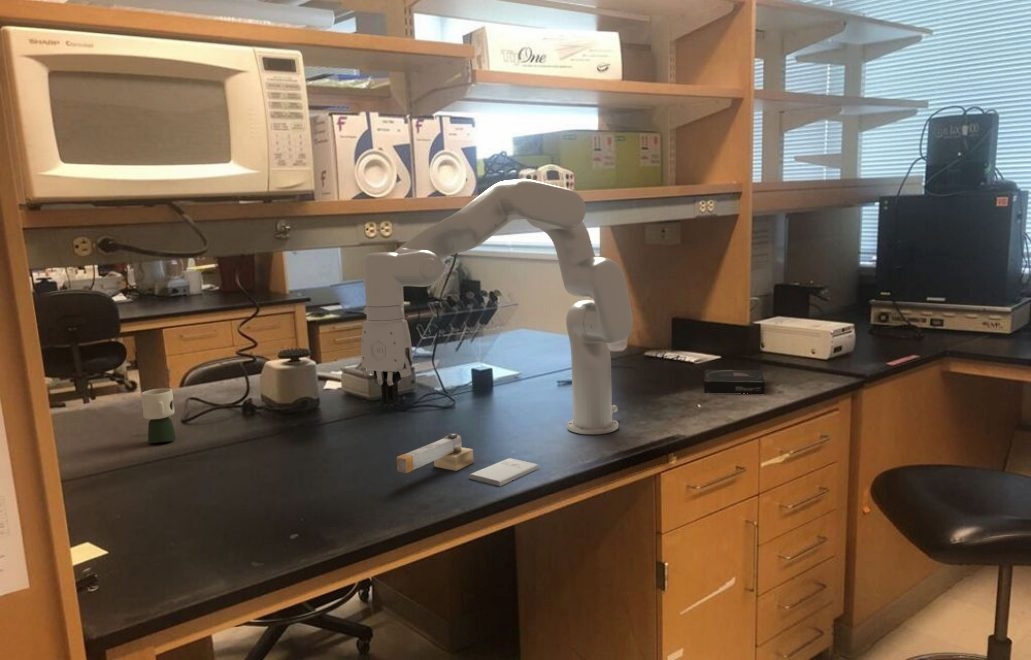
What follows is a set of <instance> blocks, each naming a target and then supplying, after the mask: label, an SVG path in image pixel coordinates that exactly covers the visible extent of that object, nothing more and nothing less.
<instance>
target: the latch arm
mask: <svg viewBox="0 0 1031 660" xmlns="http://www.w3.org/2000/svg"><path fill="white" fill-rule="evenodd" d="M461 450H462V436H461V435H459V434H458V433H456V432H452V433H451V432H450V433H448V434H447V435H446V436H444V437H443V438H441V439H438V440H436V441H434V442H431V443H429V444H427V445H423V446H421V447H419V448H417V449H416V448H415V449H414V450H411V451H409V452H406V453H404V454H401V455H398V456H396V468H397V469H396V470H397V472H401V473H403V474H404V473H405V474H408V473H411V472H412V471H414V470H416V469H418V468H421V467H423V466H425V465H427V464H430V463H432V462H434V461H435V460H437V459H439V458H442V457H444V456H446V455H449V454H451V453H453V452H458V451H461Z"/></svg>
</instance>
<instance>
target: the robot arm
mask: <svg viewBox="0 0 1031 660" xmlns="http://www.w3.org/2000/svg"><path fill="white" fill-rule="evenodd" d="M586 207H587V206H586V203H585V201H584V198H583V197H582V195H580V194H579V193H578V192H576V191H575V190H572V189H570V188H565V187H561V186H557V185H554V184H553V185H552V184H549V183H545V182H541V181H539V180H538V181H537V180H534V179H528V178H520V179H508V180H503V181H499V182H497V183H495V184H493V185H492V186H490V187H489V188H487V189H486V190H485V191H483V192H482V193H481V194H480V195H478V196H477V197H475V198H474V199H473V200H472V201H470V202H469V203H467V204H466V205H465V206H463V207H462V208H460V209H459V210H458V211H457V212H454V213H453V214H451V215H450V216H447V217H445V218H444V219H442V220H440V221H439V222H437V223H435V224H434V225H431V226H430V227H427V228H426V229H424V230H422V231H421V232H419V233H417V234H416V235H414V236H413V237H412V238H410V239H409V240H408V241H406V242H405V243H403V244H402V245H401V246H399V247H398V248H397V249H395V251H388V252H387V251H383V252H380V251H379V252H370V253H367V254H366V255H365V256H364V257H363V278H364V293H365V296H364V297H365V307H364V308H363V314H365V315H366V320H364V321H363V324H362V330H361V331H362V332H361V343H360V345H361V348H360V351H361V353H360V354H361V355H360V356H361V360H360V361H361V366H362V368H364V369H365V370H366V372H367V373H368V374H370V375H372V376H374V377H375V378H376V379H377V383H378V384H379V385H380V390H381V404H382V405H387V406H388V405H393V404H395V403H396V404H397V403H398V402H399V387H398V384H399V383H400V382H401V380H402V379H403V378H406V377H410V376H412V369H411V367H412V366H413V346H412V339H411V333H410V328H409V324H408V320H406V319H405V304H404V303H405V299H404V287H416V288H417V287H419V288H422V287H423V288H424V287H425V288H426V287H430V286H433V285H434V284H436V283H437V282H438V281H439V280H440V279H441V278H442V275H443V272H444V265H443V261H442V260H443V259H445V258H447V257H449V256H452V255H453V256H454V255H456V254H459V253H460V254H461V253H464V252H468V251H470V250H472V249H475V248H477V247H479V246H481V245H482V244H483V243H485V242H486V241H487V240H488V239H490V238H492V236H494V235H495V234H496V233H498V232H499V231H500V230H502V229H503V228H504V227H505V226H507V225H508V224H509V223H511V222H512V221H514V220H526V221H527V222H528V223H529V224H530V225H531V226H532V227H534V228H537V229H540V230H542V231H543V232H544V233H545V234H546V235H547V236H548V237H549V239H550V241H552V243H553V246H554V249H555V252H556V256H557V257H556V258H557V259H558V260H557V261H558V265H559V270H560V274H561V279H562V282H563V286H564V288H565V290H566V292H567V293H568V294H570V295H572V296H575V297H579V298H585V299H583V300H578V301H576V302H575V303H573V304H572V305H571V306H570V307H569V309H568V311H567V313H566V319H565V320H566V322H565V323H566V324H565V325H566V330H567V334H568V335H567V336H568V339H569V344H570V345H569V346H570V355H571V384H572V385H571V386H572V387H571V391H572V419H571V420H569V421H568V422H567V423H566V428H567V430H568V431H570V432H572V433H574V434H580V435H603V434H604V435H605V434H609V433H613V432H615V431H617V430H618V429H619V422H618V420H616V419H614V418H613V414H614V413H617V412H618V410H619V409H618V406H617V405H616V404H613V405H612V402H613V401H612V360H611V359H612V358H611V352H610V348H609V345H608V344H621V343H623V342H625V341H626V340H628V338H629V337H630V335H631V334H632V330H633V324H634V322H633V321H634V318H633V317H634V316H633V311H632V306H631V301H630V296H629V290H628V286H627V281H626V277H625V274H624V271H623V270H622V268H621V266H620V265H619V264H618V263H617V262H616V261H615V260H613V259H611V258H608V257H603V256H602V257H598V256H596V254H595V251H594V248H593V244H592V241H591V237H590V233H589V231H588V228H587V227H586V224H585V223H584V222H583V221H584V218H585V215H586V211H587V210H586V209H587V208H586ZM587 298H588V299H587Z"/></svg>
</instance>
